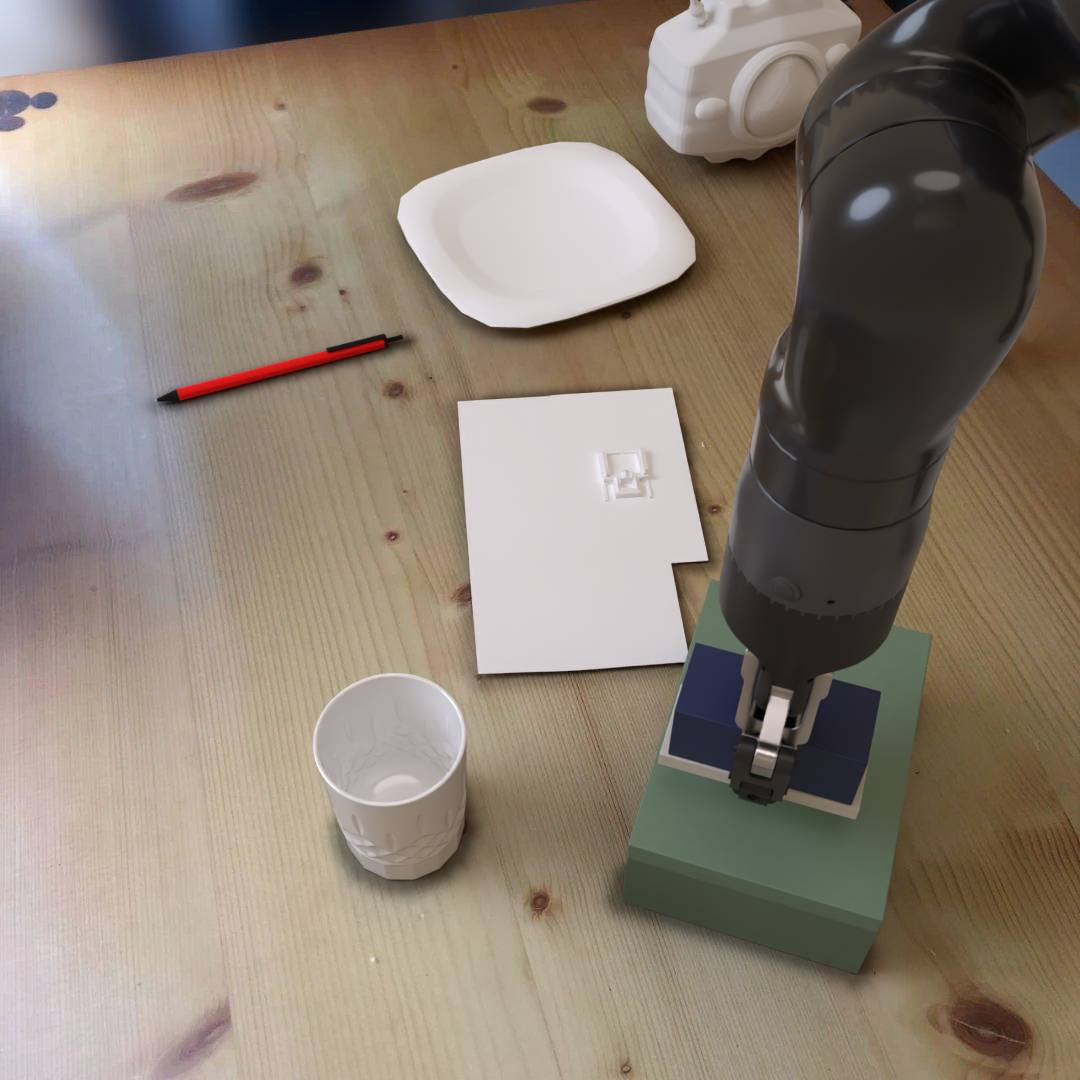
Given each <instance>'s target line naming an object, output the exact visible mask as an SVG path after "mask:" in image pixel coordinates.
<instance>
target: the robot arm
mask: <svg viewBox="0 0 1080 1080" xmlns="http://www.w3.org/2000/svg"><path fill="white" fill-rule="evenodd" d="M1077 132H1080V0H916V1H914V2H913V3H911V4H909V5H908V6H906V7H904V8H903V9H901V10H900V11H898V12H896V13H894V14H893V15H892V16H890V17H888V18H887V19H885V21H883V22H881V23H880V24H879V25H877V26H876V27H875V28H873V29H872V30H871V31H870V32H868V33H867V34H866V35H865V36H864V37H862V39H859V40H858V43H857V44H856V45H855V46H854V47H853V48H852V49H851V50H850V51H849V52H847V53H846V54H845V55H844V57H843V58H842V59H841V60H840V61H839V62H838V63H837V64H836V65H835V66H834V68H833V69H832V70H831V71H830V72H829V74H828V75H827V76H826V77H825V79H824V80H823V81H822V82H821V84H820V85H819V87H818V88H817V89H816V91H815V92H814V94H813V96H812V97H811V99H810V101H809V103H808V105H807V107H806V109H805V111H804V114H803V116H802V119H801V122H800V125H799V129H798V133H797V138H796V139H795V160H794V161H795V163H794V164H795V165H794V166H795V181H796V183H795V184H796V206H797V207H796V209H797V226H798V228H797V229H798V231H797V237H798V239H797V241H798V254H797V255H798V256H797V257H798V258H797V271H796V281H795V282H796V283H795V292H794V301H793V308H792V309H793V310H792V315H791V316H792V317H791V321H790V322H789V323H788V324H787V325H786V326H785V327H784V329H783V331H782V332H781V334H780V335H779V337H778V338H777V339H776V341H775V344H774V345H773V348H772V351H771V352H770V355H769V358H768V361H767V364H766V367H765V371H764V375H763V379H762V383H761V387H760V390H759V396H758V397H759V398H758V403H757V408H756V414H755V415H756V416H755V420H754V425H753V430H752V436H751V442H750V443H749V444H750V445H749V447H748V448H749V449H748V451H747V454H746V456H745V459H744V461H743V464H742V466H741V469H740V472H739V475H738V478H737V482H736V487H735V490H734V496H733V503H732V510H731V514H730V520H729V524H728V525H729V526H728V531H727V537H726V541H725V548H724V552H723V557H722V558H723V559H722V563H721V570H720V575H719V580H718V581H719V590H718V594H719V603H720V608H721V611H722V614H723V617H724V619H725V621H726V623H727V625H728V627H729V628H730V630H731V631H732V633H733V634H734V635H735V636H736V638H737V639H738V640H739V641H740V642H741V643H742V644H743V645H744V646H745V647H746V651H745V655H744V659H743V663H742V668H741V676H742V678H743V679H744V684H743V688H742V692H741V696H740V701H739V705H738V709H737V713H736V717H735V723H736V725H737V726H738V727H739V728H741V729H742V731H743V732H742V734H741V737H740V741H739V742H735V746H734V750H733V753H735V754H736V756H735V761H734V765H733V769H732V768H730V772H729V776H728V779H731V780H730V785H729V787H730V788H732V790H733V792H734V793H735V794H737V795H739V797H738V799H742V800H745V801H749V802H752V803H756V804H759V805H763V806H766V807H767V804H773V803H775V802H776V801H778V802H781V801H782V799H783V796H784V795H787V792H788V788H789V785H788V783H789V780H790V778H791V775H792V771H793V770H795V771H796V769H797V766H798V762H799V759H796V755H797V745H802V744H805V743H807V742H808V741H809V738H810V734H811V731H812V727H813V724H814V720H815V717H816V713H817V710H818V706H819V703H820V701H821V700H823V699H825V698H826V697H827V696H828V693H829V689H830V686H831V682H832V679H833V675H834V672H835V671H839V670H842V669H846V668H849V667H852V666H854V665H856V664H858V663H860V662H862V661H864V660H865V659H867V658H868V657H870V656H871V655H872V654H873V653H875V652H876V651H877V650H878V649H879V648H880V646H881V645H882V644H883V643H884V641H885V640H886V638H887V637H888V635H889V633H890V631H891V628H892V625H894V623H895V621H896V620H895V619H896V616H897V614H898V611H899V609H900V606H901V603H902V600H903V598H904V595H905V592H906V590H907V587H908V583H909V581H910V578H911V575H912V573H913V570H914V568H915V565H916V562H917V559H918V557H919V553H920V551H921V548H922V546H923V543H924V541H925V537H926V533H927V530H928V528H929V527H928V526H929V523H930V517H931V513H932V505H933V498H934V492H935V488H936V485H937V482H938V479H939V476H940V474H941V470H942V469H943V465H944V463H945V459H946V456H947V454H948V452H949V448H950V446H951V443H952V440H953V437H954V436H955V433H956V429H957V425H958V422H959V417H960V416H961V415H962V414H963V413H964V412H965V411H966V410H967V409H968V407H970V406H971V404H972V403H973V402H974V401H975V400H976V398H977V397H978V395H979V394H980V393H981V391H982V389H984V387H985V386H986V384H987V383H988V381H990V379H991V378H992V376H993V374H994V373H995V372H996V371H997V369H998V367H1000V365H1001V363H1002V362H1003V361H1004V359H1005V358H1006V357H1007V356H1008V354H1009V352H1010V351H1011V349H1012V348H1013V346H1014V345H1015V343H1016V342H1017V340H1018V339H1019V337H1020V335H1021V333H1022V331H1023V329H1024V327H1025V325H1026V322H1027V320H1028V319H1029V316H1030V313H1031V311H1032V308H1033V306H1034V302H1035V300H1036V297H1037V293H1038V290H1039V287H1040V284H1041V283H1040V282H1041V278H1042V274H1043V269H1044V263H1045V260H1046V251H1047V241H1048V240H1047V239H1048V238H1047V237H1048V235H1047V217H1046V210H1045V206H1044V202H1043V198H1042V193H1041V188H1040V184H1039V180H1038V176H1037V172H1036V168H1035V164H1034V160H1033V158H1035V156H1037V155H1038V154H1039V153H1042V151H1043V150H1045V149H1046V148H1048V147H1050V146H1051V145H1053V144H1055V143H1056V142H1058V141H1060V140H1063V139H1064V138H1066V137H1069V136H1071V135H1073V134H1075V133H1077ZM759 671H760V674H759V678H758V682H757V686H756V690H755V698H754V696H753V693H754V689H755V685H756V681H757V676H758V672H759ZM755 733H760V736H759V735H756V734H755ZM781 739H782V740H783V741H784V742H785V743H784V742H781Z"/></svg>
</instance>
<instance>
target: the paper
mask: <svg viewBox="0 0 1080 1080" xmlns="http://www.w3.org/2000/svg"><path fill="white" fill-rule="evenodd" d="M457 413H458V414H457V415H458V427H459V428H458V430H459V431H458V432H459V441H460V442H459V444H460V455H461V458H460V459H461V469H462V483H463V484H462V485H463V498H464V499H463V501H464V512H465V513H464V514H465V526H466V527H465V528H466V537H467V553H468V564H469V578H470V592H471V593H470V594H471V603H472V604H471V605H472V619H473V629H474V630H473V631H474V641H475V642H474V643H475V654H476V664H477V675H484V674H485V675H487V674H488V675H489V674H509V673H510V674H513V673H538V672H539V673H541V672H543V673H545V672H568V671H586V670H599V669H600V670H602V669H613V668H614V669H615V668H625V667H637V666H638V667H639V666H650V665H663V664H675V663H676V664H677V663H685V661H686V657H687V654H688V651H689V648H688V645H687V639H686V635H685V629H684V625H683V624H684V623H683V619H682V613H681V608H680V603H679V597H678V593H677V587H676V582H675V576H674V571H673V567H672V566H673V565H672V564H678V563H679V564H680V563H692V562H693V563H694V562H695V563H696V562H707V561H709V558H708V557H709V556H708V551H707V547H706V543H705V537H704V533H703V529H702V524H701V520H700V519H701V518H700V514H699V509H698V505H697V501H696V500H697V499H696V495H695V491H694V487H693V482H692V481H693V480H692V477H691V472H690V467H689V463H688V458H687V453H686V448H685V443H684V438H683V434H682V429H681V425H680V424H681V423H680V420H679V416H678V415H679V413H678V411H677V406H676V401H675V396H674V392H673V388H672V387H660V388H645V389H630V390H616V391H615V390H613V391H612V390H611V391H597V392H581V393H564V394H563V393H562V394H551V395H545V396H543V395H542V396H528V397H527V396H526V397H512V398H511V397H510V398H494V399H493V398H492V399H478V400H477V399H476V400H475V399H474V400H462V401H461V400H459V401H457Z"/></svg>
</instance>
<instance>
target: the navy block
mask: <svg viewBox="0 0 1080 1080" xmlns="http://www.w3.org/2000/svg"><path fill="white" fill-rule="evenodd" d="M743 659H744V655H741V654H738V653H734V652H730V651H726V650H723V649H719V648H715V647H711V646H707V645H704V644H700V643H695V645H694V648H693V652H692V655H691V658H690V661H689V665H688V668H687V671H686V675H685V678H684V681H683V684H681V685H680V689H679V692H678V695H677V698H676V702H675V705H674V708H673V711H672V715H671V718H670V721H669V724H668V728H667V731H666V734H665V737H664V741H663V744H662V747H661V750H660V754H659V761H658V764H661V765H665V766H668V767H672V768H675V769H679V770H682V771H686V772H689V773H693V774H696V775H700V776H703V777H707V778H710V779H714V780H717V781H721V782H724V783H728V784H730V780H731V779H728V776H729V772H730V768H732V769H733V765H734V761H735V756H736V754H735V753H733V750H734V746H735V742H739V741H740V737H741V734H742V732H743V731H742V729H741V728H739V727H738V726H737V725H736V723H735V717H736V713H737V709H738V705H739V701H740V696H741V692H742V688H743V684H744V679H743V678H742V676H741V668H742V663H743ZM759 674H760V671H759V672H758V676H757V681H756V685H755V689H754V693H753V696H754V698H755V690H756V686H757V682H758V678H759ZM880 698H881V691H878V690H874V689H870V688H866V687H862V686H859V685H855V684H851V683H847V682H844V681H840V680H836V679H832V682H831V686H830V689H829V693H828V696H827V697H826V698H825V699H823V700H821V701H820V703H819V706H818V710H817V713H816V717H815V720H814V724H813V727H812V731H811V734H810V738H809V741H808V742H807V743H805V744H802V745H797V755H796V759H799V762H798V766H797V769H796V771H795V770H793V771H792V775H791V778H790V780H789V783H788V785H789V788H788V792H787V795H784V796H783V799H784V800H787V801H791V802H794V803H798V804H802V805H805V806H809V807H812V808H816V809H819V810H823V811H826V812H830V813H833V814H837V815H840V816H844V817H847V818H851V819H854V820H855V819H856V817H857V815H858V812H859V809H860V804H861V798H862V793H863V788H864V783H865V778H866V772H867V767H868V762H869V757H870V751H871V746H872V741H873V734H874V729H875V724H876V719H877V714H878V708H879V703H880ZM755 734H756V735H759V736H760V733H755ZM781 742H784V741H783V740H782V739H781ZM784 743H785V742H784Z"/></svg>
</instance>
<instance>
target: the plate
mask: <svg viewBox="0 0 1080 1080" xmlns="http://www.w3.org/2000/svg"><path fill="white" fill-rule="evenodd" d="M396 219H397V222H398V224H399V226H400V229H401V231H402V234H403V236H404V238H405V240H406V243H407V244H408V246H409V247H410V249H411V251H412V252H413V254H414V255H415V257H416V258H417V260H418V262H419V263H420V264H421V266H422V268H423V269H424V271H425V272H426V274H428V276H429V278H431V280H432V282H433V284H434V285H435V286H436V288H437V289H438V290H439V292H440V293H441V294H442V295H443V296H444V297H445V298H446V299H447V301H449V303H450V304H452V306H453V307H454V308H455V309H456V311H458V312H459V313H460V314H461V315H462V316H464V317H466V318H468V319H470V320H473V321H475V322H477V323H479V324H482V325H483V326H485V327H487V328H489V329H494V330H495V329H497V330H499V329H500V330H531V329H535V328H540V327H543V326H548V325H552V324H558V323H561V322H566V321H569V320H573V319H576V318H578V317H582V316H586V315H589V314H592V313H595V312H598V311H601V310H605V309H608V308H610V307H614V306H617V305H620V304H622V303H625V302H628V301H631V300H634V299H637V298H640V297H642V296H646V295H647V294H648V295H649V294H650V293H652V292H654V291H657V290H658V289H661V288H663V287H665V286H668V285H670V284H673V283H674V282H677V281H678V280H679V279H680V278H681V277H682V276H683V275H685V273H686V272H687V271H688V270H689V269H690V268H691V267H692V266H693V265H694V264H695V263H696V261H697V260H696V259H697V257H696V239H695V238H696V237H694V235H693V234H692V232H691V231H690V228H688V226H687V225H686V223H685V221H684V220H683V218H682V216H681V215H680V214H679V213H678V212H677V211H676V210H675V209H674V207H673V206H672V205H671V204H670V203H669V202H668V200H667V199H666V198H665V197H664V196H663V195H662V193H661V192H660V191H658V189H656V187H655V186H654V185H653V184H652V183H651V182H650V181H649V179H648V178H646V177H645V175H644V174H643V173H642V172H641V171H640V170H639V169H637V168H636V167H635V166H634V165H632V164H631V163H630V162H629V161H628V160H627V159H626V158H625V157H623V156H622V155H620V154H619V153H618V152H615V151H613V150H610V149H608V148H606V147H603V146H601V145H598V144H596V143H594V142H587V141H586V142H580V141H556V142H551V143H546V144H541V145H534V146H530V147H525V148H520V149H517V150H514V151H511V152H506V153H503V154H499V155H495V156H492V157H488V158H485V159H481V160H478V161H474V162H471V163H468V164H465V165H461V166H458V167H455V168H452V169H449V170H447V171H445V172H444V171H443V172H442V173H439V174H436V175H434V176H432V177H429V178H426V179H424V180H421V181H420V182H418V183H417V184H416V185H415V186H413V187H412V188H411V189H410V190H408V191H407V192H406V193H405V194H403V195H402V196H401V197H400V200H399V206H398V212H397V215H396Z"/></svg>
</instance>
